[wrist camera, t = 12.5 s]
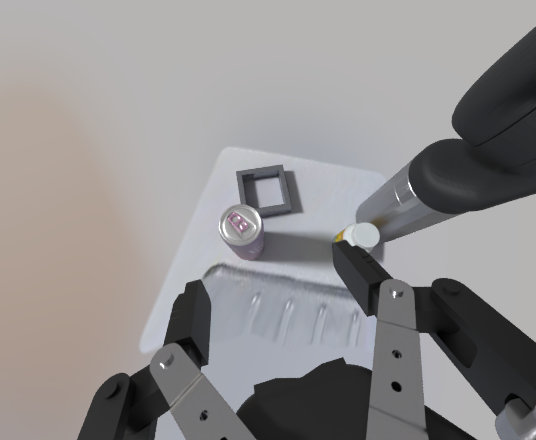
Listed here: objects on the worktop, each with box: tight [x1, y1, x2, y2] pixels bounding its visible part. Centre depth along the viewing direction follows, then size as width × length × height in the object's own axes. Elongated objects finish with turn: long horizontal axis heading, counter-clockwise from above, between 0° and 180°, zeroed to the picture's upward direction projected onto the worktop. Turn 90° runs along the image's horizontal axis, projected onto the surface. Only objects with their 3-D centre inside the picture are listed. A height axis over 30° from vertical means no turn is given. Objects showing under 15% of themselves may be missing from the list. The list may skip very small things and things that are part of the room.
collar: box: [236, 165, 292, 217], centre depth 45 cm, size 10×10×2 cm
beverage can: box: [219, 204, 264, 260], centre depth 36 cm, size 6×6×15 cm
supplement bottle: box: [333, 223, 380, 253], centre depth 38 cm, size 5×5×10 cm
